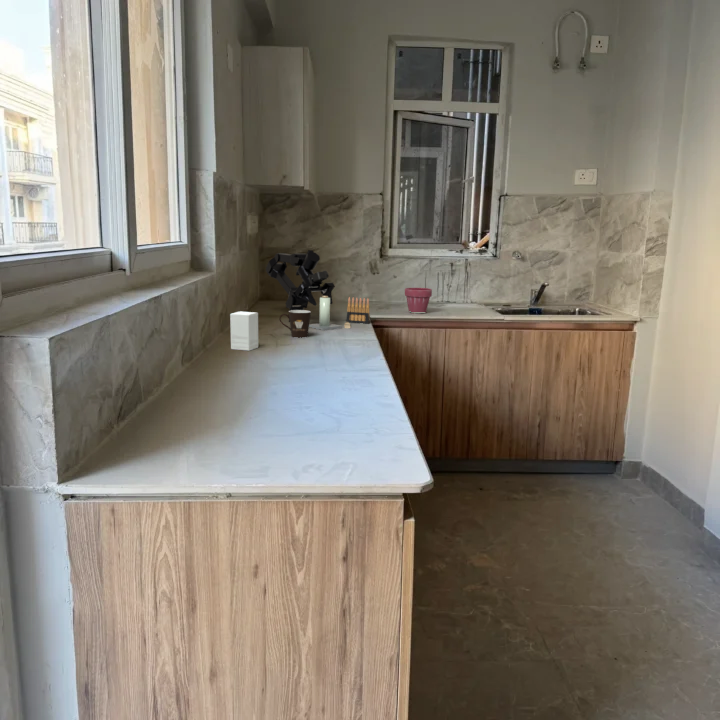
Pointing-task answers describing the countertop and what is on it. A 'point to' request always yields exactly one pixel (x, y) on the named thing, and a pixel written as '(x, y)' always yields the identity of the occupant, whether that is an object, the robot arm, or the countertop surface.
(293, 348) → the countertop surface
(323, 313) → the stoneware bottle
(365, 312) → the ammunition clip
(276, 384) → the countertop surface
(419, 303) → the plant pot
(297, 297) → the robot arm
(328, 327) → the slate trivet
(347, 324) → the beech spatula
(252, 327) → the supplement box
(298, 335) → the coffee mug
